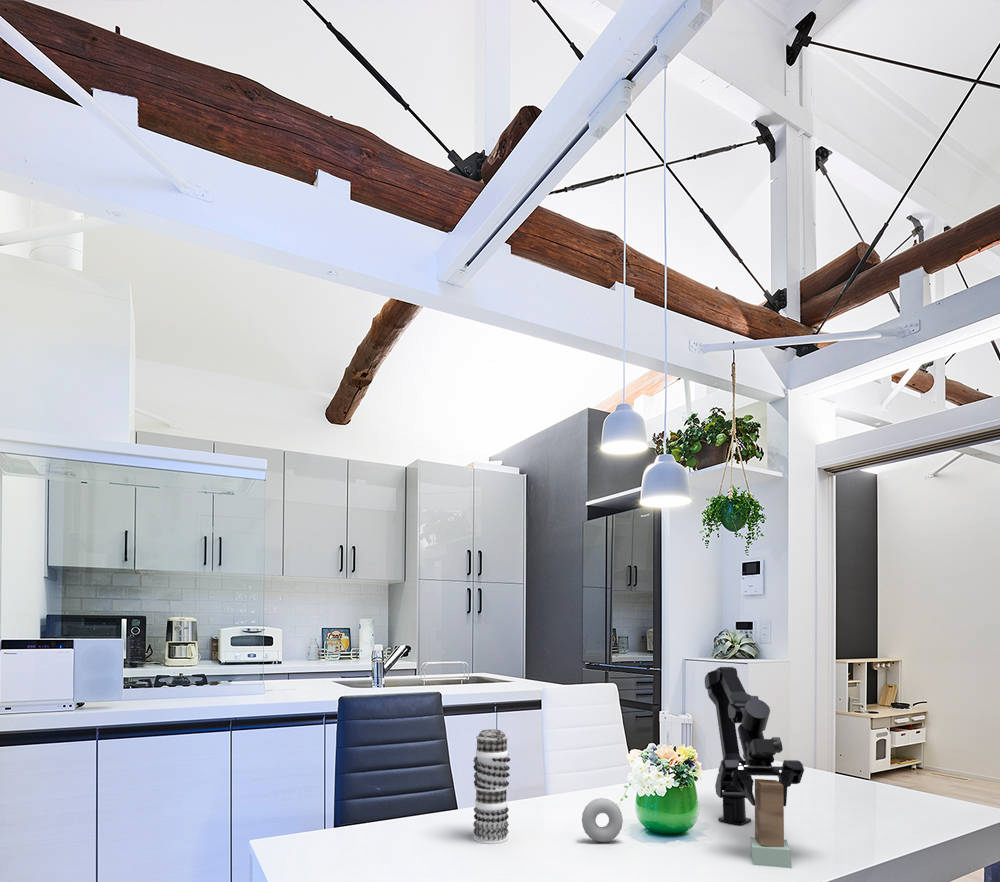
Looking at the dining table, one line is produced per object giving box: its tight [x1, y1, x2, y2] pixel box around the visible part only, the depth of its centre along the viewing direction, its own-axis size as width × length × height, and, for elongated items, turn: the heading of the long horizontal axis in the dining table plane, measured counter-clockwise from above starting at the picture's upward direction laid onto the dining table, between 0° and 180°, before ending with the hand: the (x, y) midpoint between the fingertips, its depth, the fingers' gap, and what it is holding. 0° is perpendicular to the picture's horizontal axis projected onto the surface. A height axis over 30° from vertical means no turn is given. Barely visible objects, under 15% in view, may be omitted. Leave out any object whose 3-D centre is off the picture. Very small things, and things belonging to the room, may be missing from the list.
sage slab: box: [750, 836, 792, 869], centre depth 179 cm, size 8×8×4 cm
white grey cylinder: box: [472, 728, 511, 845], centre depth 195 cm, size 9×9×25 cm
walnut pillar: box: [754, 778, 785, 847], centre depth 180 cm, size 5×5×13 cm
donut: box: [581, 797, 624, 843], centre depth 192 cm, size 10×3×10 cm, turn 92°
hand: (769, 805), depth 179 cm, fingers open, 7 cm apart
